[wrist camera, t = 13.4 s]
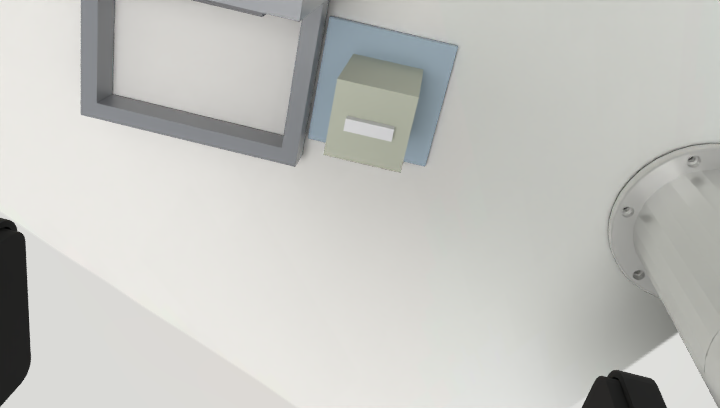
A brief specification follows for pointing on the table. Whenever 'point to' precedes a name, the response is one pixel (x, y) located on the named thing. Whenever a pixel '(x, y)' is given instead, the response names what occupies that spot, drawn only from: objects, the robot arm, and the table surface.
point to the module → (373, 112)
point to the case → (99, 102)
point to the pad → (392, 48)
